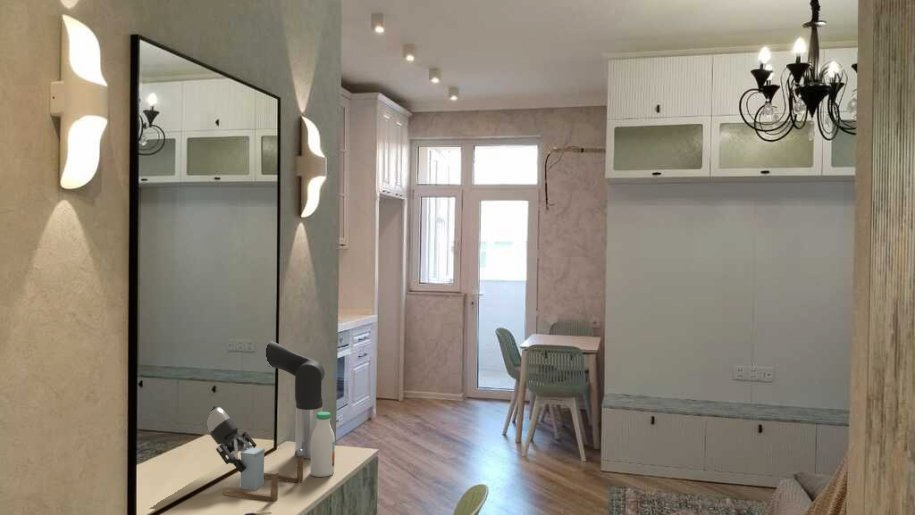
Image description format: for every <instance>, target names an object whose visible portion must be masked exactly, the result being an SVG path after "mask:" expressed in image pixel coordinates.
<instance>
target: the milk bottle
mask: <svg viewBox="0 0 915 515" xmlns="http://www.w3.org/2000/svg"><path fill="white" fill-rule="evenodd" d="M331 416H332V415H331V413H330V412H329V411H322V412H319V413H317V414H316V418H317V419H316V420H317V424H316V427H315V430H314V432H313V434H312V438H311V458H310V466H309V467H310V469H309V470H310V475H311V476H312V477H316V478H324V477H326V478H327V477H329V476H332V475H333V474H334V473H335V453H336V452H335V449H336V448H335V447H336V446H335V445H336V442H335V441H336V440H335V433H334V431H333V429H332V425H331V422H330V421H331Z"/></svg>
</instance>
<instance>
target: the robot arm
mask: <svg viewBox="0 0 915 515" xmlns="http://www.w3.org/2000/svg"><path fill="white" fill-rule="evenodd" d="M266 357H267V361H268V362H269V364H270V365H271V366H272V367H271V368H274V369H279V370H282V371H284V372H286V373H289V374H291V375H292V376H294V400H295V436H294V437H295V438H294V440H295V443H294V445H295V446H294V452H295V451H297V450H298V449H300V448H302V442H303V441H304V448H305V450H306V453H305V455H303V459H311V438H312V434H313V432H314V430H315V427H316V424H317V420H316V419H317V418H316V414H317V413H319V412H323V406H324V405H323V397H322V381H323V380H324V378H325V375H326V374H325V369H324V367H323V365H322V364H321V363H320V362H319V361H316V360H314V359H311V358H308V357H306V356H303V355H300V354H299V353H296V352H293V351H291V350H289V349H288V348H287V347H284V346H283V345H281V344H279V343H277V342H275V341H274V342H273V340H272V341H271V342H270V343H269V344H268V345H267V348H266ZM218 405H219V404H218ZM218 405H217V406H214V407H213V409H212V410H211V412H210V415H209V417H208V420H207V426H208V430H209V432H210V434H209V436H210V437H211V438H212V439H213V440H214V441H215V443H216V444H217V445H218V447H216V448H215V451H216V452H217V453H218V454H219V456H220V458H221V459H222V460H223V462H224V463H225V464H226V465H229V464H231V465H233V466H234V467H235V468H236V469H237V471H238V472H239V473H240V474H241V473H242V472H243V471H244V470H245V469H246V466H245V465H244V464H243V463H242V461H241V458H239V455H238V453H239V452H240V453H241V452H243V451H245V450H246V449H248V448H256V447H257V446H258V445H257V443H256V442H255V441H254V440H253V439H252V437H251V436H250V435H249V434H248V433H247V432H246V431H244V432H243V433H242V434H239V433H238V431H239V428H238V426H237V425H236V424H235V422H234V421H233V420H232V418H231V417H230V416H229V414H228V413H227V412H226V411H225V410H224V409H223V408H222V407H221V406H220V405H219V406H218Z"/></svg>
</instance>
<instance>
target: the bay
mask: <svg viewBox="0 0 915 515" xmlns="http://www.w3.org/2000/svg"><path fill="white" fill-rule="evenodd" d="M264 479H266V480H267V479H268V480H270V494H268V493H262V492H252V491H245V490H236V489H230V488H227V489H224V491H223V495H224V496H231V497H239V498H246V499H254V500H262V501H269V502H270V501H271V502H276V501H278V499H279V498H278V497H279V481H282V482H283V481H284V482H293V483H302V482H304V458H303V456H302V457H300V458H297V457H296V476H294V475H288V474H287V475H286V474H279V472H278V471H273V472H270V473H269V472H264Z"/></svg>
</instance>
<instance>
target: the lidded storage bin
mask: <svg viewBox="0 0 915 515" xmlns="http://www.w3.org/2000/svg"><path fill="white" fill-rule="evenodd" d="M265 452H266V450H265V449H264V448H256V447H255V448H247V449H246V450H245V451H243V452H241V451H240V460H241V461H242V463H243V464H244V465H245V466H246V469H245V470H244V471H243V472H242V473H241V472H240V481H239V483H240V487H239V488H240V489H243V490H252V491H256V490H257V489H259V488H260V487H262V486H263V485H265V484H264V483H265V481H264V480H265V478H264V473H265Z"/></svg>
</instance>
